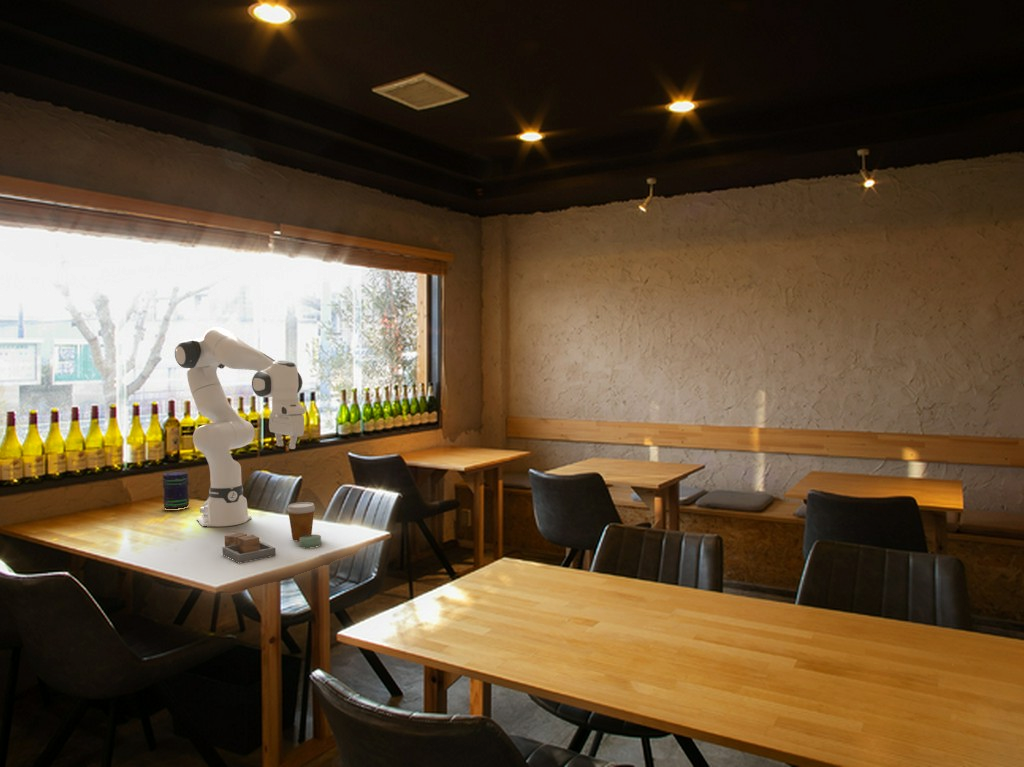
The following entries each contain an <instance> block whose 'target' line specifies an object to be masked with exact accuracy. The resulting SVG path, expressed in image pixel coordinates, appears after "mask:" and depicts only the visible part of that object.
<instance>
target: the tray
mask: <svg viewBox="0 0 1024 767" xmlns="http://www.w3.org/2000/svg"><path fill="white" fill-rule="evenodd" d="M259 543H260V550H258V551H253V552H248V553H243V554H240V553H238V544H237V545H232V546H226V547H225V546H223V547H221V548H222V550H221V551H222V554H223V555H222V554H221V555H222V556H224V555H225V556H224V557H226V556H227V557H226V558H228V557H229V558H228V559H230V558H231V559H230V560H232V559H233V560H232V561H234V562H236V561H237V562H236V563H238V562H239V563H238V564H241V563H240V562H242V563H246V562H245V561H247V562H251V561H250V560H252V561H256V560H255V559H257V560H261V558H262V559H265V557H266V558H270V557H269V556H271V557H274V556H273V555H277V554H276V552H277V551H276V547H274V546H272V545H270V544H268V543H265V542H262V541H261V540H259Z"/></svg>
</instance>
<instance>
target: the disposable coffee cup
mask: <svg viewBox="0 0 1024 767" xmlns="http://www.w3.org/2000/svg"><path fill="white" fill-rule="evenodd" d="M315 510H316V507H315V504H314V503H313V502H307V501H305V502H294V503H290V504H289V505H288V506H287V509H286V511H287V513H288V517H289V526H290V532H291V536H292V541H294V540H297V541H296V542H300V541H299V538H300V537H301V536H304V535H313V533H312V532H313V524H314V515H315V514H314V513H315Z"/></svg>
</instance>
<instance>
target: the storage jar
mask: <svg viewBox="0 0 1024 767" xmlns="http://www.w3.org/2000/svg"><path fill="white" fill-rule="evenodd" d="M189 484H190V483H189V473H188V471H180V470H176V471H168V472H164V473H162V487H163V497H162V498H163V509H164V508H166V509H178V508H184V507H187V506H188V505H189V504H190V494H189ZM189 506H190V505H189Z"/></svg>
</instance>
